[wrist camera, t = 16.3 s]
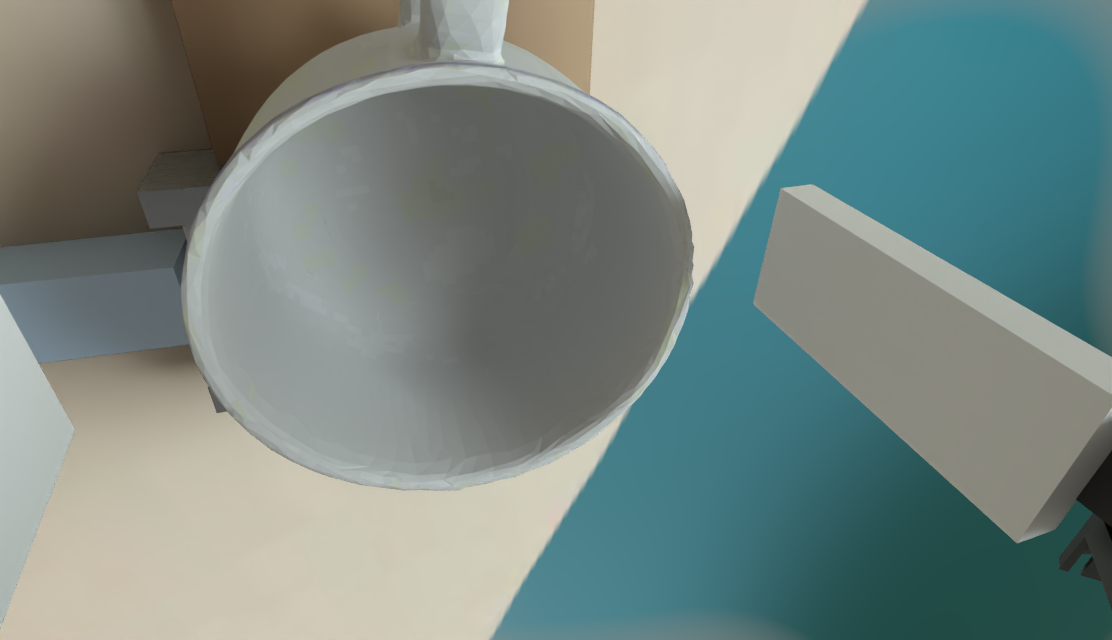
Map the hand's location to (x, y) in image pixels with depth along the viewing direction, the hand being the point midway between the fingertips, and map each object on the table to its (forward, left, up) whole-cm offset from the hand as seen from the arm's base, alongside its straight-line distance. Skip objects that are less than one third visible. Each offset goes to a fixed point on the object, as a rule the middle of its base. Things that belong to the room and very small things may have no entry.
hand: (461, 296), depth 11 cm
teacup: (+1, 0, -10) cm, 10 cm away
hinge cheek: (-6, -1, -11) cm, 12 cm away
